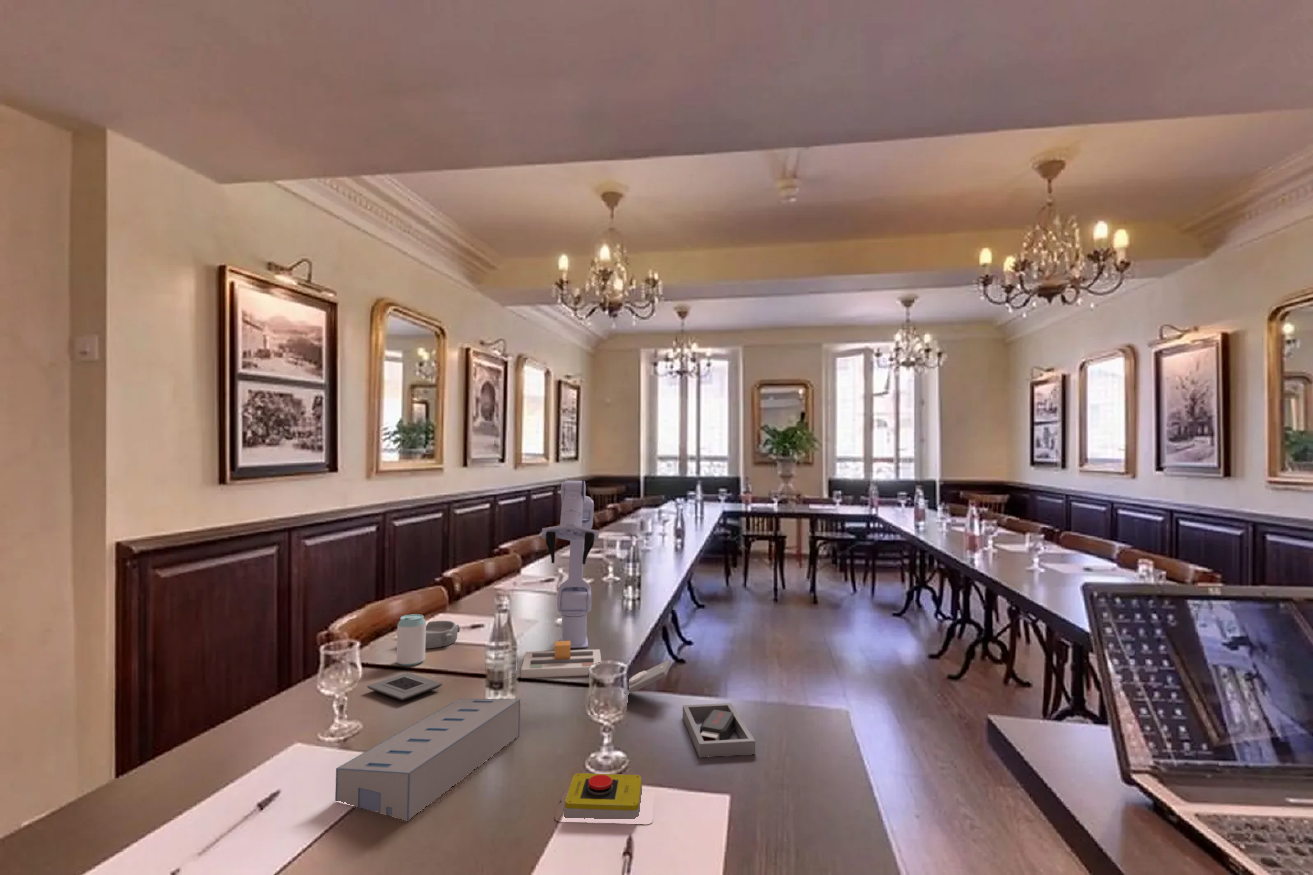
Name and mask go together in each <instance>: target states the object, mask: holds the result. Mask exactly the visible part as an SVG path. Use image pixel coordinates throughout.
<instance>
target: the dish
mask: <svg viewBox="0 0 1313 875" xmlns="http://www.w3.org/2000/svg"><path fill="white" fill-rule="evenodd" d="M460 628H461V627H460V625H459V624H456V622H454V621H451V620H433V621H429V622H427V623H426V642H425V649H435V648H436V649H437V648H441V647H442V646H443V647H446V646H447V647H448V646H450V645H451V644H454V641H455V642H456V641H457V639H458V633H460V632H461V629H460Z"/></svg>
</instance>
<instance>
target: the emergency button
mask: <svg viewBox="0 0 1313 875" xmlns="http://www.w3.org/2000/svg"><path fill="white" fill-rule="evenodd" d="M568 788H569V790H568V793H567V796H566V799H565V808H564V817H565V818H584V819H585V818H594V819H635V818H636V817H638V816H639V812H640V803H641V795H642V790H643V781H642V776H641V775H640V774H619V773H614V774H612V773H591V772H589V773H587V772H577V773H575V774H573V775H572V779H571V782H570V785H569V787H568Z"/></svg>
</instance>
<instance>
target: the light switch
mask: <svg viewBox="0 0 1313 875" xmlns="http://www.w3.org/2000/svg"><path fill="white" fill-rule="evenodd" d="M671 665H672V662H671V660H670V659H667V660H666V661H663V662H661V663H659V664H657V665H655V666H652V667H651V668H649V669H647V670H642V671H640V672H638V673H636V674H634V675H632V677H630V678H628V679H629V692H630V694H631V693H635V692H637V690H640V689H642V688H644V687H646V686H648V685H651V684H653V683H655V682H657V681H658V680H661V679H663V678H665V677H666V676H667V674H668V672H669V670H670V667H672V666H671Z"/></svg>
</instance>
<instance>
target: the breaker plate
mask: <svg viewBox="0 0 1313 875" xmlns="http://www.w3.org/2000/svg"><path fill="white" fill-rule="evenodd" d="M598 662H601V663H602V657H601V649H598V648H597V649H573V650H571V649H570V659H555V650H545V651H544V650H542V651H541V650H539V651H538V650H537V651H525V653H524V658H523V662H522V666H521V668H520V673H521V674H520V678H521V679H525V678H527V679H529V678H550V677H551V678H552V677H555V678H556V677H572V676H573V677H576V676H579V677H580V676H589V675H588V671H589V668H590V667H591V665H592V664H595V663H598Z"/></svg>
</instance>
